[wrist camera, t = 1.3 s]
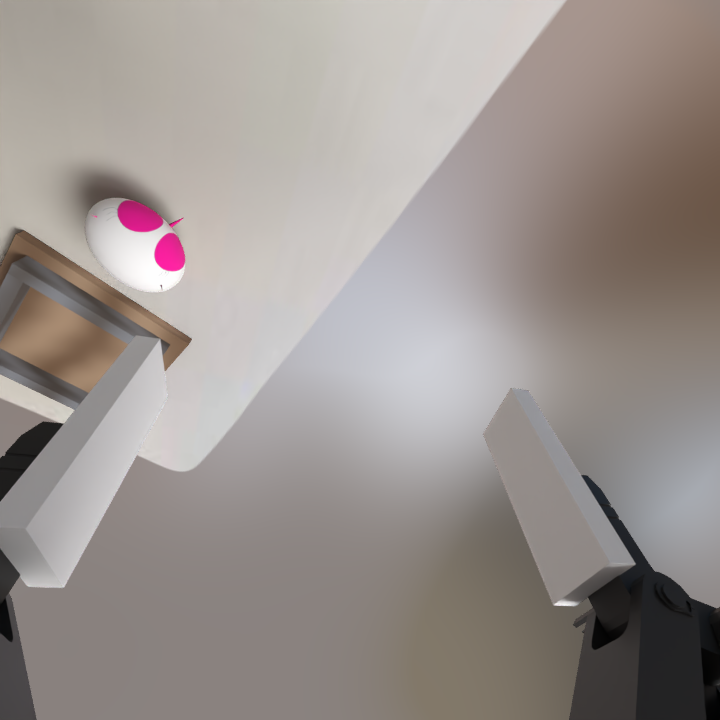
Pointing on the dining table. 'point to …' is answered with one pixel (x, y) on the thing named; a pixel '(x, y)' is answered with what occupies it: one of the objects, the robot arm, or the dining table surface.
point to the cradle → (67, 323)
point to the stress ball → (135, 244)
